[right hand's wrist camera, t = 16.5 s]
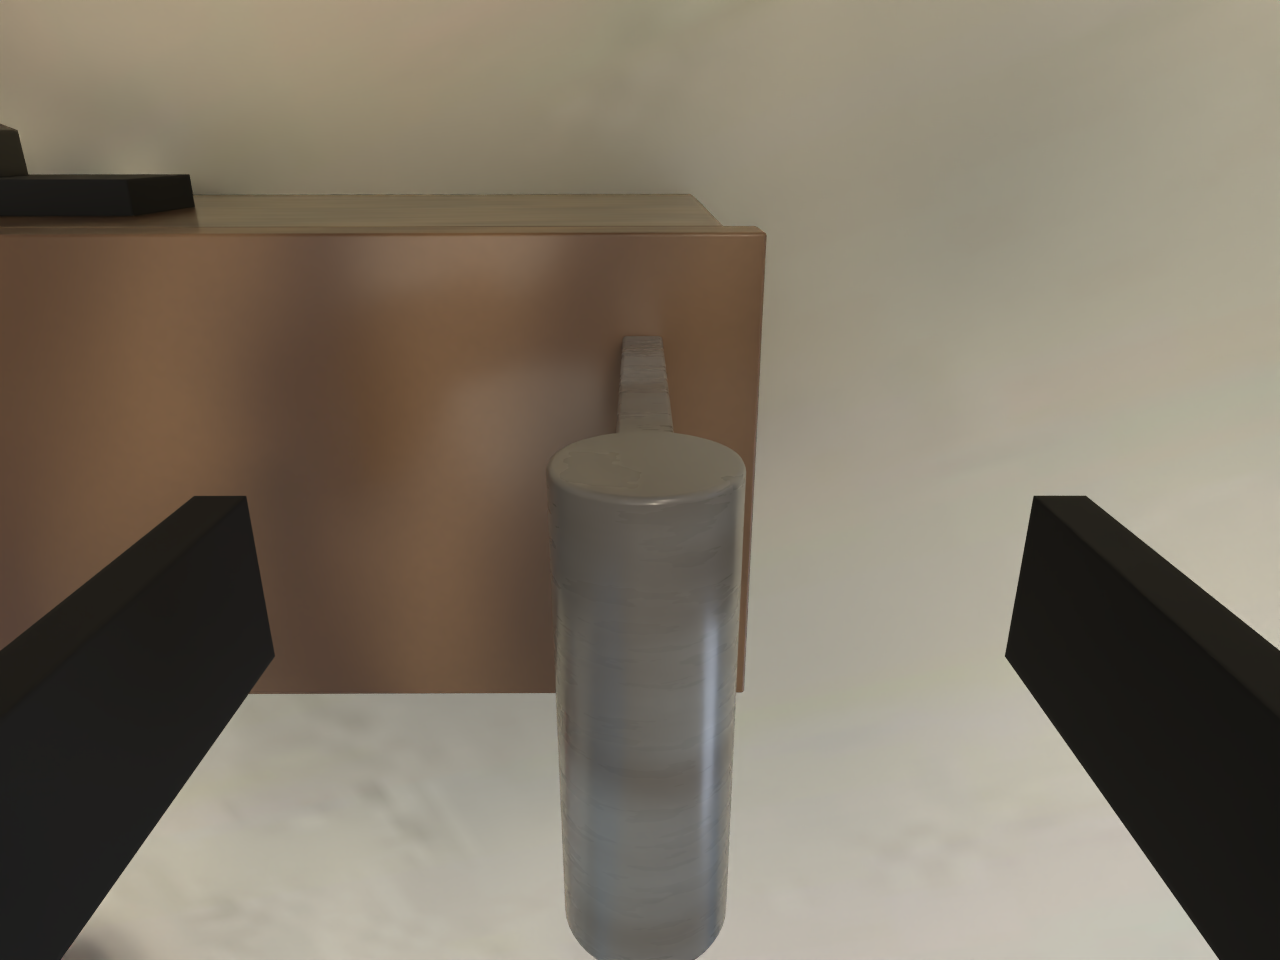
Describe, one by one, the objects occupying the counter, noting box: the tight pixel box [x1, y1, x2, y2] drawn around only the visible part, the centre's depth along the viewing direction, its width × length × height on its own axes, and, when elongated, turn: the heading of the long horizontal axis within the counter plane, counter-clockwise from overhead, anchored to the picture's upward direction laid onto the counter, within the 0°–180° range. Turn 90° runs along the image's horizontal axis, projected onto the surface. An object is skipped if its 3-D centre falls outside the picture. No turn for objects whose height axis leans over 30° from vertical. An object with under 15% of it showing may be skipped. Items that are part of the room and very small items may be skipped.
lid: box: [0, 226, 766, 960], centre depth 13 cm, size 16×9×9 cm, turn 90°
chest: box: [0, 194, 722, 228], centre depth 22 cm, size 16×9×10 cm, turn 90°
